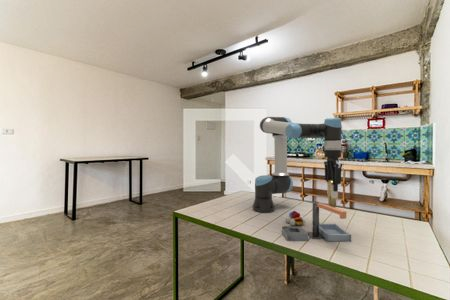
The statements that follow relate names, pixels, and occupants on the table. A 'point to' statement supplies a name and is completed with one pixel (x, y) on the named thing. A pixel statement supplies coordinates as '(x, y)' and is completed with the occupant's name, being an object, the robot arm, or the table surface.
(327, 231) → the tray
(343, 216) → the swing bar
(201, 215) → the table surface
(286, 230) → the hitch block
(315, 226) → the gate post
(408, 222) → the table surface
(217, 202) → the table surface
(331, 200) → the pin
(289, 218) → the rainbow disc toy
